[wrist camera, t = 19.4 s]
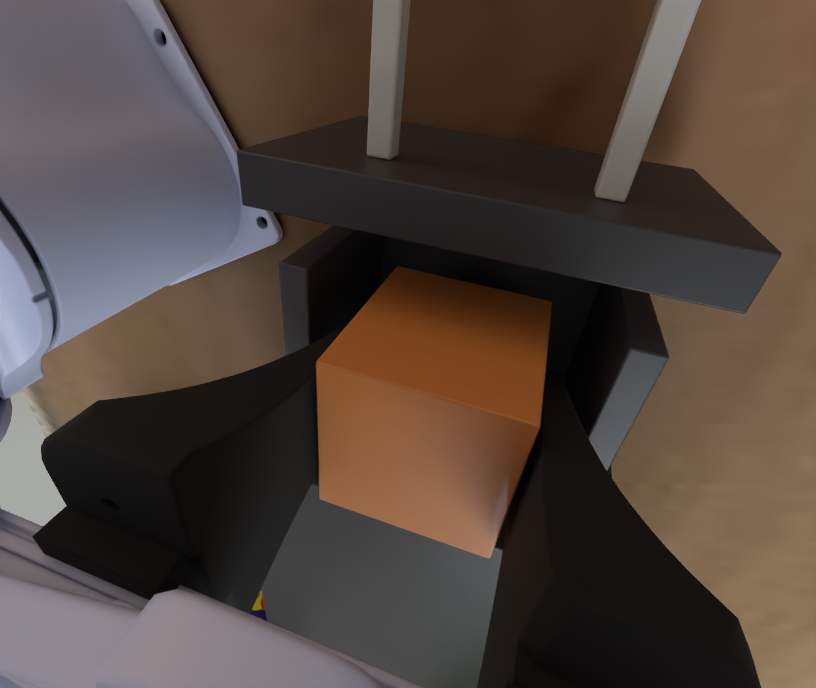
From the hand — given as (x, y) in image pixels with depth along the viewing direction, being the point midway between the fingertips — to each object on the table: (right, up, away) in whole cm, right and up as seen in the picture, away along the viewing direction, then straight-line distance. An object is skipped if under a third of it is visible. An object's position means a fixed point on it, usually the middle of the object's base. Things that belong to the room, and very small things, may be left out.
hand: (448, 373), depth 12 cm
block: (0, +1, +1) cm, 1 cm away
